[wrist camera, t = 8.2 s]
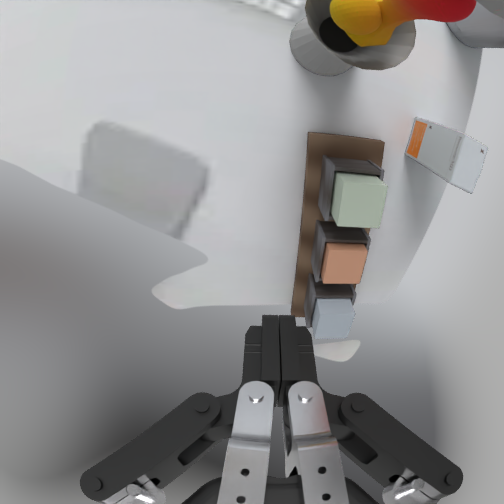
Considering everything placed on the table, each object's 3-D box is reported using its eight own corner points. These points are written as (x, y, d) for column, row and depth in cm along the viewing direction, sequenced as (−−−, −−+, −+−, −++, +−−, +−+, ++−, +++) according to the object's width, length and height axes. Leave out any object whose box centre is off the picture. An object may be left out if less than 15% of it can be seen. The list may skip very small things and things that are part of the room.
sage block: (330, 166, 32) (343, 181, 27) (369, 170, 32) (387, 186, 27) (326, 204, 34) (337, 226, 29) (363, 206, 34) (379, 228, 29)
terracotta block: (320, 226, 38) (329, 250, 33) (355, 228, 38) (367, 251, 33) (316, 257, 41) (323, 283, 36) (348, 258, 40) (359, 283, 35)
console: (307, 132, 33) (317, 140, 28) (380, 140, 33) (401, 151, 27) (290, 311, 49) (293, 339, 43) (345, 310, 49) (352, 337, 43)
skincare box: (414, 115, 30) (466, 131, 20) (437, 126, 31) (489, 147, 20) (402, 155, 33) (449, 184, 23) (425, 164, 34) (473, 195, 24)
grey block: (314, 286, 41) (320, 314, 36) (346, 286, 41) (355, 313, 36) (309, 310, 44) (314, 338, 39) (339, 310, 44) (346, 337, 39)
